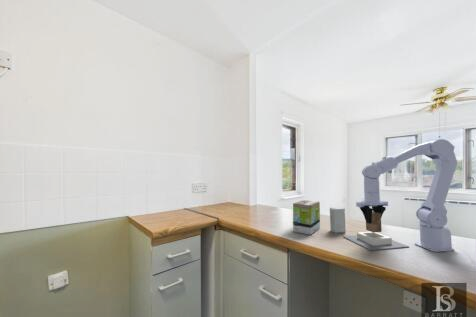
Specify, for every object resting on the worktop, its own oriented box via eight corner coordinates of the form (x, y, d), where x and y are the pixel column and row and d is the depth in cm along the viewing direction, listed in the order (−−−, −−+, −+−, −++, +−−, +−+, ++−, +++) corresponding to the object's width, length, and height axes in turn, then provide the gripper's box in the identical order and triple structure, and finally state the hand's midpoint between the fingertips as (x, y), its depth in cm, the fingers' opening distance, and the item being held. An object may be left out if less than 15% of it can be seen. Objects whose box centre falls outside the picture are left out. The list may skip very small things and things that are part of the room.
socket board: (376, 234, 98) (375, 228, 98) (409, 247, 83) (408, 240, 83) (343, 237, 95) (343, 230, 95) (370, 250, 80) (370, 243, 80)
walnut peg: (373, 229, 91) (373, 211, 92) (381, 231, 87) (380, 213, 88) (366, 229, 91) (365, 211, 91) (373, 232, 87) (372, 213, 87)
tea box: (312, 235, 98) (311, 205, 99) (292, 231, 104) (291, 203, 105) (320, 227, 110) (319, 200, 111) (302, 224, 116) (301, 199, 117)
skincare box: (340, 229, 106) (340, 206, 107) (346, 232, 102) (345, 208, 102) (329, 230, 106) (329, 207, 106) (334, 233, 101) (334, 208, 102)
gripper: (378, 190, 95) (379, 219, 94) (350, 191, 93) (351, 221, 92) (391, 192, 88) (393, 223, 88) (362, 193, 86) (364, 225, 85)
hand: (372, 222), depth 89 cm, fingers closed on walnut peg, 4 cm apart
